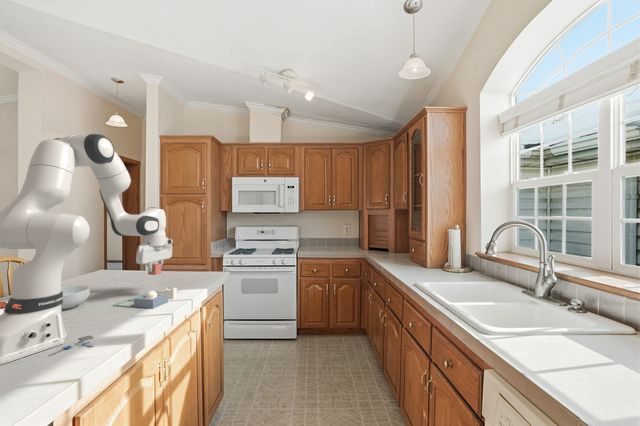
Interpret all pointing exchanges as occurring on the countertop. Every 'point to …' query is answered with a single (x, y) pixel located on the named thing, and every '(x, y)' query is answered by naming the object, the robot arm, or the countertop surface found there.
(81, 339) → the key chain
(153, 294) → the dome
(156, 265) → the red cube
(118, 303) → the track
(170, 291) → the die
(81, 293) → the cereal bowl
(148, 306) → the dome collar
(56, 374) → the countertop surface
